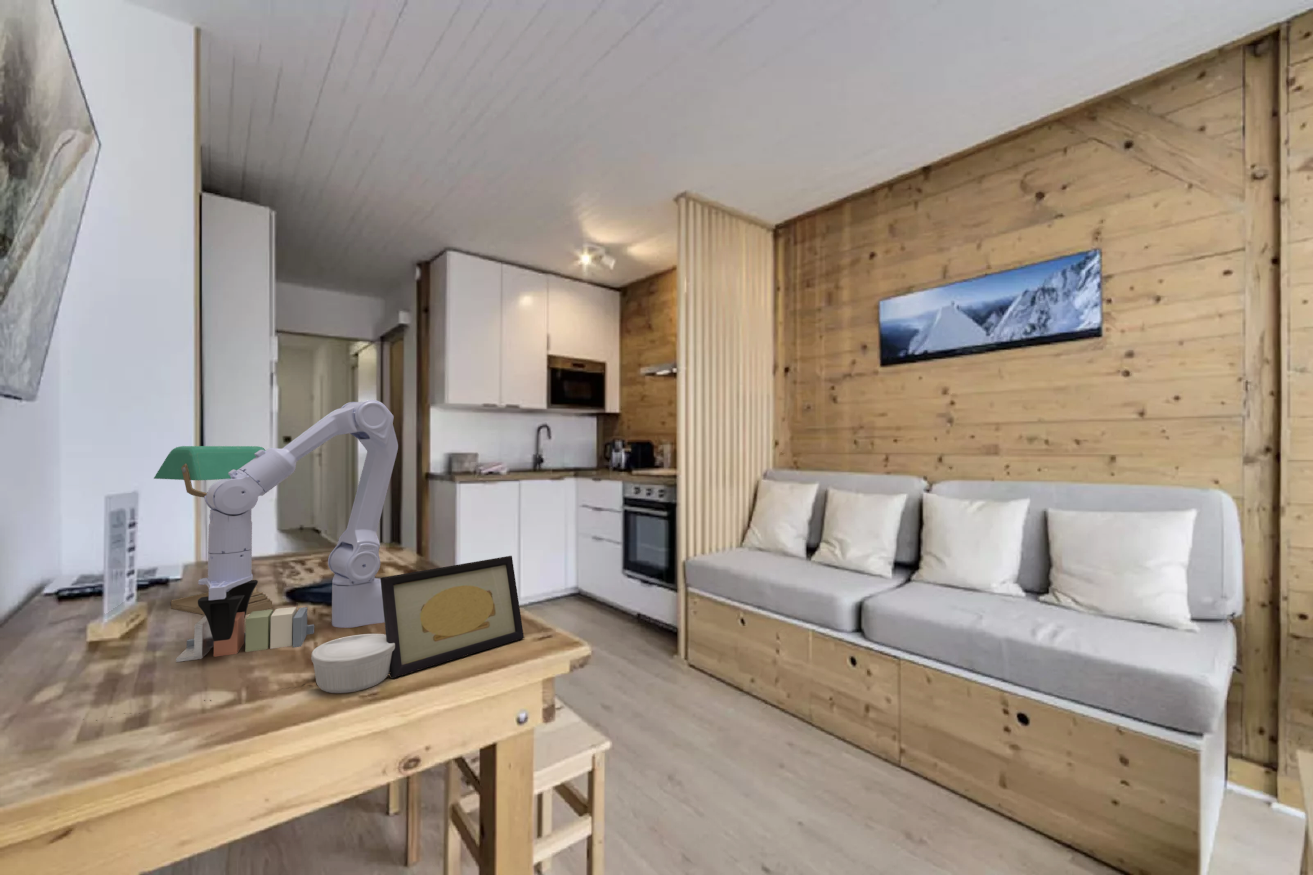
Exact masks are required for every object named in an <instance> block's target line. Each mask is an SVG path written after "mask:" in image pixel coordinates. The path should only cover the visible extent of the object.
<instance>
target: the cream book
mask: <svg viewBox="0 0 1313 875" xmlns="http://www.w3.org/2000/svg"><path fill="white" fill-rule="evenodd" d="M297 607H298V606H291V607H290V606H289V607H281V608H276V609H275V610H273V614H272V615H271V638H270V646H269V648H270V649H271V650H272V649H278V648H279V649H280V648H287V647H293V618H294V616H295V614H296V613H297V611H298V608H297Z"/></svg>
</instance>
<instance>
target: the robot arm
mask: <svg viewBox="0 0 1313 875" xmlns="http://www.w3.org/2000/svg"><path fill="white" fill-rule="evenodd" d="M394 417H395V416H394V414H392V411H390V410H389V409H388V407H387V406H386V405H385V404H384V403H383V402H382V401H379V400H376V399H366V400H364V401H349V402H347V403H345V404H344V405H342V406H341V407H340V408H336V409H335V410H332V411H331V412H329V413H328V414H327V415H325V416H323V417H322V418H321V419H320V420H318V421H316V422H315V423H314V424H312V426H310V427H309V428H307V429H306V430H305V431H303V432H302V433H301V434H300V435H298V436H296V437H295V438H294V439H293V440H291V441H290V442H288V443H287V444H286V445H285V446H283V447H281V448H277V447H269V448H268V449H265V450H266V451H264V450H259V451H258V452H256V453H255V454H254V455H255V456H256V458H254V459H253V460H251V461H250V462H248V463H247V464H245V465H244V466H243V467H241V468H240V469H238V470H237V471H236V470H234V469H233V470H231V471H230V472H229V473H228V474H229V475H230V477H231V479H219V480H216V481H215V482H214V483H212V484H211V485H210V486H209V488H208V490H207V491H206V493H207V495H206V496H204V497H203V499H204V502H205V505H207V507H208V508H209V515H208V516H209V524H208V542H207V543H208V547H207V548H208V550H207V577H203V578H200V579H198V580H197V582H198V583H197V584H198V585H201V586H202V585H206V587H207V588H208V592H209V597H201V598H200V599H199V600H198V606H199V607H200V608H201V610H202V611H203V612H204V614H205V615H204V616H206V618H207V620H208V623H209V627H210V631H211V634H212V638H213V640H214V641H222V640H229V639H230V638H231V636H232V633H233V628H234V623H235V617H236V613H238V612H245V617H246V616H247V615H246V612H247V608H248V604H249V600H250V597H251V595H252V593H253V591H254V589H255V587H257V585H258V582H259V581H258V580H257V579H253V578H254V577H253V573H252V567H253V566H252V565H253V564H252V563H253V562H252V559H253V558H252V555H253V554H252V552H253V550H252V548H253V540H252V539H253V522H252V510H253V509H254V507H255V506H256V505H257V502H258V500H259V497H260V496H261V497H262V496H264V495H265V494H267V493H268V492H270V491H271V490H272V489H274V488H276V486H278V485H279V484H281V483H282V482H283V481H285V480H286V479H287V478H288V477H290V476H292V475H293V474H294V473H295V472H296V468H297V467H296V466H297V462H298V461H299V460H301V459H302V458H304V457H306V456H307V455H309V454H310V453H312V452H313V451H315V450H316V449H318V448H319V447H321V446H322V445H324V444H325V443H326V442H328V441H330V440H331V439H333V438H334V437H336V436H341V435H347V434H350V435H352V436H353V437H354V438H356V439H357V441H359V442H360V443H361V445H362V447H364V449H365V450H366V455H365V460H364V462H363V466H362V469H361V470H362V471H361V474H360V477H359V481H358V482H359V483H358V485H357V490H356V493H355V496H354V497H355V498H354V500H353V504H352V508H351V511H350V516H349V519H348V523H347V527H346V529H345V530H344V531H343V532H342V534H341V535H340V536H339V538H338V541H337V544H336V545H335V547H334V548H333V549H332V551H331V552H330V553H329V555H328V559H327V565H328V569H329V570H330V571H331V573H333V574H334V576H333V578H332V581H331V582H332V585H331V586H332V587H331V588H332V589H331V591H332V593H331V626H332V627H335V628H343V629H344V628H346V629H350V628H357V627H361V626H367V625H374V624H382V623H384V624H385V621H384V611H383V600H382V590H381V580H380V577H379V578H376V575H377V573H378V572H379V570H380V568H381V558H380V548H381V547H380V546H381V543H380V540H379V537H378V534H377V532H378V528H379V524H380V521H381V520H380V519H381V517H382V513H383V509H384V505H385V501H386V497H387V492H388V488H389V485H390V482H391V477H392V474H393V469H394V466H395V461H396V459H397V453H398V451H399V450H398V449H399V443H398V439H397V434H396V432H395V427H394V424H393V423H394Z"/></svg>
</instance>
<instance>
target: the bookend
mask: <svg viewBox="0 0 1313 875" xmlns="http://www.w3.org/2000/svg"><path fill="white" fill-rule="evenodd" d="M193 635H194V637H193V639H194V646H189V647H187V646H186V648H185V649H184V650H183V651H182V652H181V653H180V654H178V656H177V657H176V658H175V662H176V663H180V662H188V661H194V660H202V659H204V658H205V656H206V655H207V654H208V653H209V652H210V651H211V649H212V648H214V646H213V638H212V634H211V631H210V627H209V623H208V620H207V618H206V616H205V615H203V617H201V619H200V620H198V621H197V622H196V623H195V624H194V634H193Z"/></svg>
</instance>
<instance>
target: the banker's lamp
mask: <svg viewBox="0 0 1313 875" xmlns="http://www.w3.org/2000/svg"><path fill="white" fill-rule="evenodd" d="M259 450H264V451H266V450H267V449H265V448H264V447H262V446H259V445H258V446H256V445H254V446H253V445H251V446H250V445H247V446H246V445H233V446H231V445H225V446H224V445H223V446H222V445H216V446H215V445H212V446H211V445H198V446H197V445H194V446H193V445H182V446H176V447H175V448H172V449H171V451H170V452H169V453H168V455H167V456H166V457H165V459H164V461H163V463H162V464H161V466H160V467H159V469H158V470H157V472H156V474H155V475H154V477H153V480H154V479H156V480H175V481H176V480H177V481H178V480H179V481H184V485H185V490H186V493H187V494H189V495H191V496H194V497H199V498H204V496H206V495H207V492H204V491H201V490H197V489H195V488H193V484H192V481H219V480H222V479H231V477H230V475H229V474H228V473H229V472H230V471H231V470H233V469H234V470H236V471H237V470H238V469H240V468H241V467H243V466H244V465H245V464H247V463H248V462H250V461H251V460H253V459H254V458H256V456H255V455H254V454H255V453H256V452H258V451H259ZM201 597H209V591H207V592H204V593H198V594H194V595H190V596H184V597H179V598H176V599H171V600H170V609H171V610H177V611H181V612H186V613H187V612H188V613H194V614H198V615H203V616H205V614H204V612H203V611H202V610H201V608H200V607H199V606H198V600H199V599H200V598H201ZM272 608H273V600H271V598H270V597H268V596H267V595H266V593H264V591H263V592H262V591H258V588H257V586H256V587H255V589H254V591H253V593H252V595H251V597H250V600H249V604H248V608H247V612H246V616H247V615H250V614H251V613H252V612H253V611H262V610H270V609H272Z"/></svg>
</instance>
